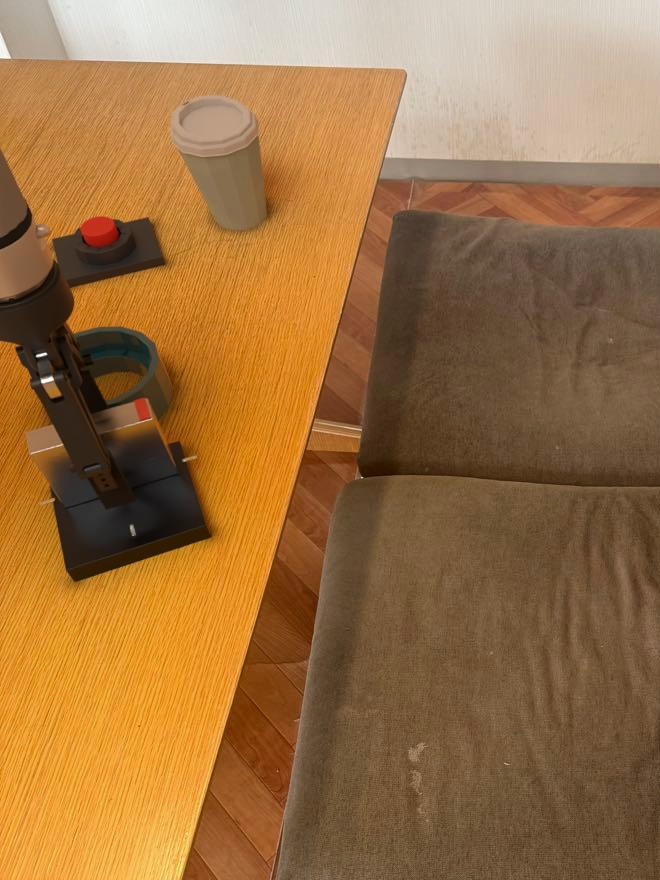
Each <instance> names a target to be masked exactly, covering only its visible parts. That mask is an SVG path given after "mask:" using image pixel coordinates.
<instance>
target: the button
mask: <svg viewBox="0 0 660 880" xmlns="http://www.w3.org/2000/svg"><path fill="white" fill-rule="evenodd" d="M112 219H113V218H110V217H108V216H101V215H99V216H94V217H91V218H88V219H86V220H85V221H84V222H82V224H81V225H80V227H81V228H80V227H79V228H80V230H81V232H82V235H83V237H84V239H85V241H86V243H87V244H88V245H89V246H92V247H102V246H107V245H110V244H112V243H113V242H115V241H117V240H118V238H119V233H118V230H117V228H116V225H115V223H114V221H113V220H112Z"/></svg>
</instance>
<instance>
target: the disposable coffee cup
mask: <svg viewBox="0 0 660 880" xmlns="http://www.w3.org/2000/svg"><path fill="white" fill-rule="evenodd" d="M170 120H171V122H170V131H169V132H170V133H169V136H170V140H171V143H172V144H173V145H174V147H176V148H177V151H178V152H179V154H180V156H181V157H182V160H183V162H184V164H185V165H186V167H187V169H188V171H189V173H190V175H191V177H192V179H193V181H194V183H195V185H196V186H197V188H198V190H199V192H200V194H201V197H202V198H203V200H204V202H205V203H206V206H207V207H208V209H209V212H210V213H211V215H212V218H213V219H214V221H215V222H216V223H217V224H218V225H219V226H220V227H221V228H223V229H227V230H230V231H244V230H245V231H246V230H249V229H252V228H255V227H257V226H259V225H261V224H262V223H263V222H264V221H265V220H266V218H267V217H268V209H267V199H266V190H265V182H264V173H263V172H264V171H263V164H262V154H261V145H260V138H259V136H260V127H259V126H260V125H259V124H260V122H259V121H258V118H257V115H256V114H255V113H254V112H252V110H250V109H249V108H248V107H247V106H246V105H244V104H243V102H242V101H240V100H238V99H235V98H232V97H228V96H225V95H222V94H200V95H198V96H196V97H192V98H190V99H187V100H185V101H184V102H182V103H181V104H179V105H178V106H177V107H176V108H175V109H174V110H173V111H171V119H170Z"/></svg>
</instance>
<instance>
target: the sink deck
mask: <svg viewBox="0 0 660 880" xmlns="http://www.w3.org/2000/svg"><path fill="white" fill-rule="evenodd" d="M168 444H169V446H170V448H171V450H172V452H173V455H174V459H175V462H176V465H177V469H178V472H179V473H178V474H175V475H172V476H168V477H165V478H162V479H159V480H155V481H152V482H149V483H146V484H142V485H139V486H136V487H132V488H131V490H132V492H133V494H134V496H135V500H136V501H133V502H130V503H127V504H124V505H120V506H117V507H114V508H111V509H108V510H106V509H105V507H104V506H103V504H102V502H101V501H100V499H99V498H96V499H93V500H90V501H87V502H83V503H80V504H77V505H74V506H70V507H67V508H65V507H64V506H63V504H62V503H61V501H60V500H59V498H58V497H57V495H56V494H55V492H54V491H53V489H52V488H51V486H50V484H49V483H48V485H49V490H50V497H51V498H50V499H46V500H43V501H40V502H39V506H45V505H49V504H52V506H53V510H54V514H55V521H56V526H57V531H58V536H59V542H60V547H61V552H62V557H63V563H64V567H65V572H67V574H68V575H69V577H70V578H71V579H72V581H73V582H74V583H78V582H81V581H84V580H86V579H89V578H93V577H95V576H99V575H101V574H105V573H109V572H110V571H111V572H112V571H114V570H117V569H120V568H123V567H126V566H129V565H132V564H135V563H139V562H142V561H144V560H148V559H151V558H154V557H156V556H161V555H163V554H165V553H169V552H172V551H176V550H179V549H181V548H184V547H187V546H190V545H193V544H197V543H199V542H203V541H205V540H208V539H211V538H213V536H212V534H211V530H210V527H209V523H208V521H207V517H206V514H205V511H204V508H203V504H202V500H201V498H200V494H199V492H198V489H197V486H196V482H195V478H194V476H193V472H192V470H191V466H190V463H189V462H191V461H194V460H197V459H198V456H197V455H192V456H189V457H187V454H186V452H185V449H184V447H183V445H182V442H181V441H180V440H178V441H174V442H171V443H168Z"/></svg>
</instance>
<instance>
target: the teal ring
mask: <svg viewBox="0 0 660 880" xmlns="http://www.w3.org/2000/svg"><path fill="white" fill-rule="evenodd" d="M73 334H74V336H75V337H76V339H77V341H79V342H80V345H81V346H80V349H81V350H79V352H80V354H81V355H84V354H88V353H90V354H91V356H92V358H93V361H94V364H95V365H92V366H89V367H85V368H82V369H83V370H84V371H85V370H90V372H91V374H92V376H93V378H94V380H95V379H97V378H99V377H102V376H106V375H109V374H113V373H133V374H135V375H138V376H143V377H142V378H141V379H140V381H139V382H138V383H136V385H135V386H134V387H132V388H131V389H129V390H127V391H125V392H123V393H122V394H120V395H118V396H116V397H113V398H110V399H105V401H106V403H107V405H108V407H109V409H110V408H113V407H117V406H120V405H124V404H127V403H131V402H134V400H137V399H141V398H147V399H148V401H149V403H150V405H151V407H152V409H153V411H154V414H155V416H156V418H157V420H158V421H159V420H161V418H162V417H163V416H164V414H166V412H167V411H168V410H169V408H170V407H171V403H172V400H173V396H174V388H173V385H172V381H171V378H170V375H169V373H168V370H167V368H166V366H165V363H164V360H163V359H162V356H161V354H160V352H159V349H158V347H157V345H156V342H154V341H153V340H152V339H150V338H149V336H147V335H146V334H145V333H143V332H142V331H138V330H135V329H132V328H128V327H126V326H121V325H120V326H96V327H92V328H89V329H84V330H81V331H76V332H74V333H73Z"/></svg>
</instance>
